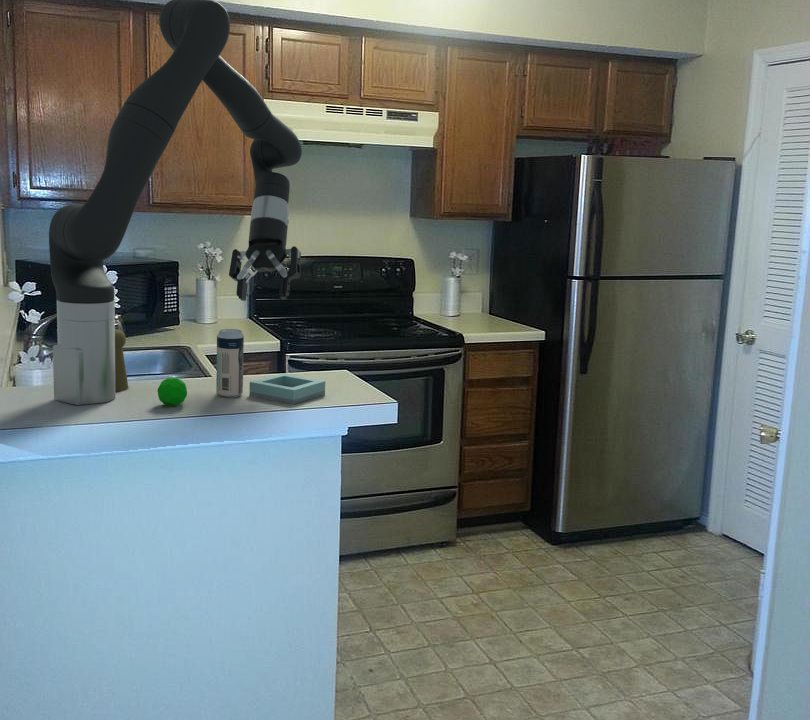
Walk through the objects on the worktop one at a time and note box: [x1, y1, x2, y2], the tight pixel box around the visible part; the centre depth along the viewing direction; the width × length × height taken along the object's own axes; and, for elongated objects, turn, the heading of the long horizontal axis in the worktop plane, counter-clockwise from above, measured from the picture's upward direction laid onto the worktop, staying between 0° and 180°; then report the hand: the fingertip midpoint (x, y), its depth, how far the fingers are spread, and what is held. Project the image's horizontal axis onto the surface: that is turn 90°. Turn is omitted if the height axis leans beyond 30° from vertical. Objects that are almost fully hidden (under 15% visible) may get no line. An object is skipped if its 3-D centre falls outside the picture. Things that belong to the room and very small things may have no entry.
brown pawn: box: [115, 328, 129, 393], centre depth 152 cm, size 6×6×11 cm
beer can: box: [215, 328, 245, 398], centre depth 152 cm, size 5×5×12 cm
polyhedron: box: [156, 376, 188, 407], centre depth 143 cm, size 5×5×5 cm
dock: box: [248, 373, 326, 405], centre depth 155 cm, size 10×10×3 cm
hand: (262, 298), depth 164 cm, fingers open, 8 cm apart
